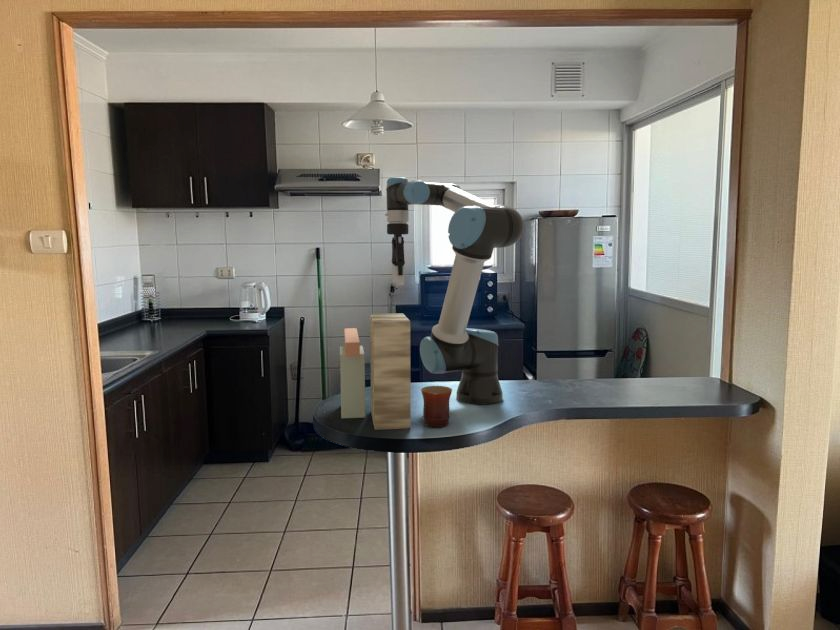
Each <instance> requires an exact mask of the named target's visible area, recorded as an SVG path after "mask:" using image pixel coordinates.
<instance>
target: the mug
mask: <svg viewBox="0 0 840 630" xmlns="http://www.w3.org/2000/svg"><path fill="white" fill-rule="evenodd" d="M420 391H421V395H422V399H423V408H422V412H423V413H422V414H423V416H422V418H423V423H424V425H426V426H427V427H429V428H435V429H441V428H445V427H446V426H448V424H449V423H450V399H451V395H452V392H453V389H452V388H450V387H448V386H444V385H428V386H424V387H422V388H421V389H420Z"/></svg>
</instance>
